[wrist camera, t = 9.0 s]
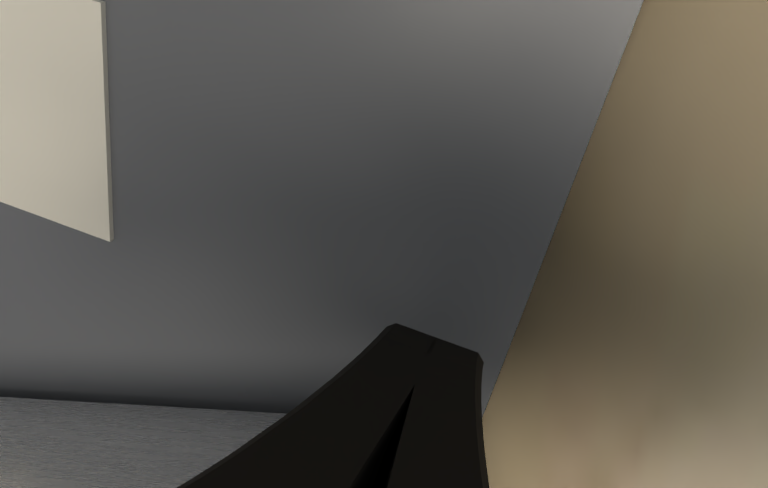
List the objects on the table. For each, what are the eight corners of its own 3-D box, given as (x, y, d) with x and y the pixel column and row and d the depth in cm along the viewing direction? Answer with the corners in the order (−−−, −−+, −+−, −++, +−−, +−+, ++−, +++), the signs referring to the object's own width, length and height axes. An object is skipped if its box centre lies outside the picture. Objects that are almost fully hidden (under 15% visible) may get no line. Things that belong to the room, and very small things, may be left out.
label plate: (-132, 436, 19) (-160, 456, 18) (-384, -315, 10) (-458, -330, 9) (381, 672, 16) (370, 706, 15) (666, -71, 7) (671, -68, 6)
